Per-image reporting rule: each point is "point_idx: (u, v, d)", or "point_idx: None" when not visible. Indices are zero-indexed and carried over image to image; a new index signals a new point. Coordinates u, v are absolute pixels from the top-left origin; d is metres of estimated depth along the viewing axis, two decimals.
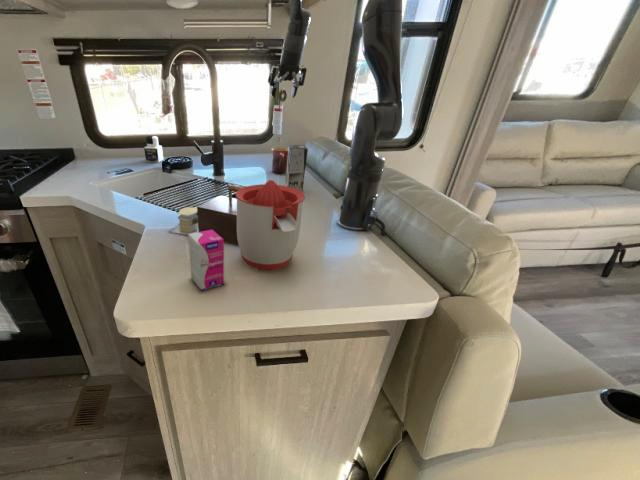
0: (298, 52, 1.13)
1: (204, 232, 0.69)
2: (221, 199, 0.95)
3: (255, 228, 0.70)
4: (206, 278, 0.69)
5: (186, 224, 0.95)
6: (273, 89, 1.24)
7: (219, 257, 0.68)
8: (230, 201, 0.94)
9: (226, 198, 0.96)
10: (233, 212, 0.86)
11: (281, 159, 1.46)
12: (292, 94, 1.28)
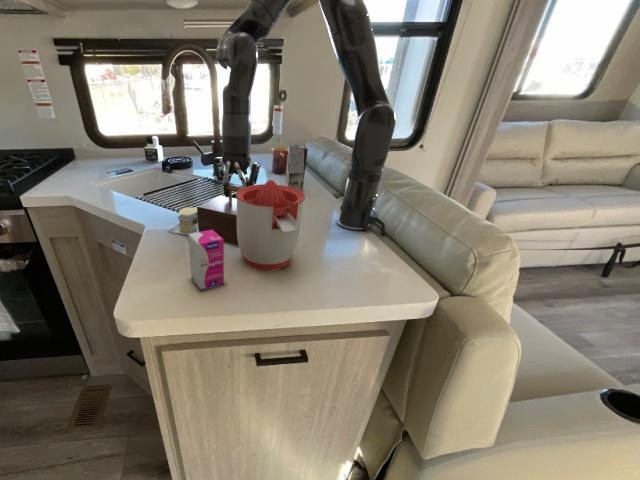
0: None
1: (204, 232, 0.69)
2: (221, 199, 0.95)
3: (255, 228, 0.70)
4: (206, 278, 0.69)
5: (186, 224, 0.95)
6: None
7: (219, 257, 0.68)
8: (230, 201, 0.94)
9: (226, 198, 0.96)
10: (233, 212, 0.86)
11: (281, 159, 1.46)
12: None
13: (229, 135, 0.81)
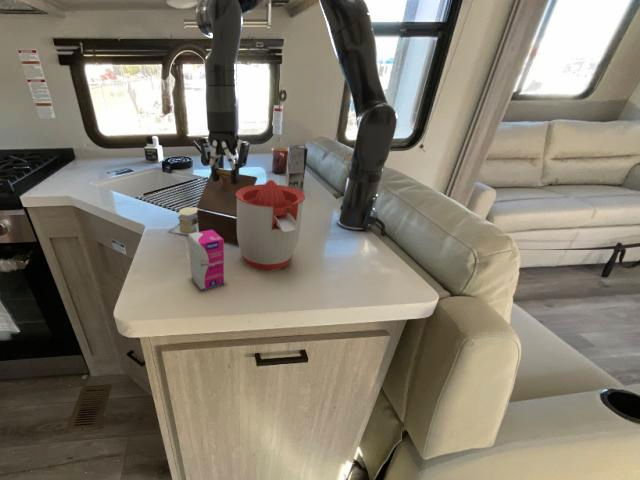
0: None
1: (204, 232, 0.69)
2: None
3: (255, 228, 0.70)
4: (206, 278, 0.69)
5: (186, 224, 0.95)
6: None
7: (219, 257, 0.68)
8: (225, 182, 0.88)
9: None
10: (232, 210, 0.85)
11: (281, 159, 1.46)
12: (217, 176, 0.86)
13: (214, 111, 0.73)
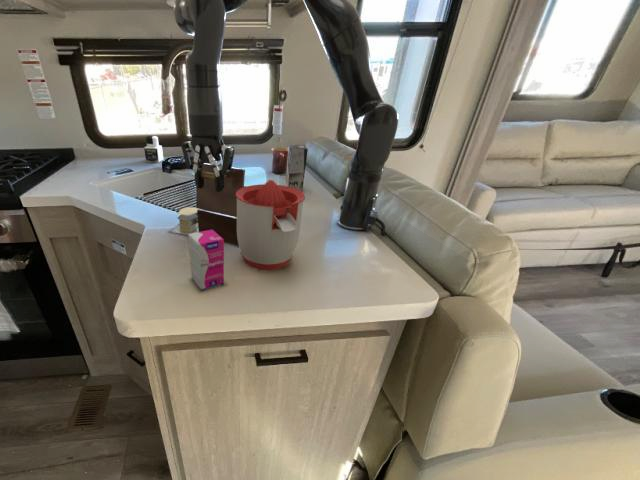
0: None
1: (204, 232, 0.69)
2: None
3: (255, 228, 0.70)
4: (206, 278, 0.69)
5: (186, 224, 0.95)
6: None
7: (219, 257, 0.68)
8: None
9: (206, 170, 0.83)
10: (230, 210, 0.84)
11: (281, 159, 1.46)
12: (202, 183, 0.81)
13: (195, 114, 0.68)
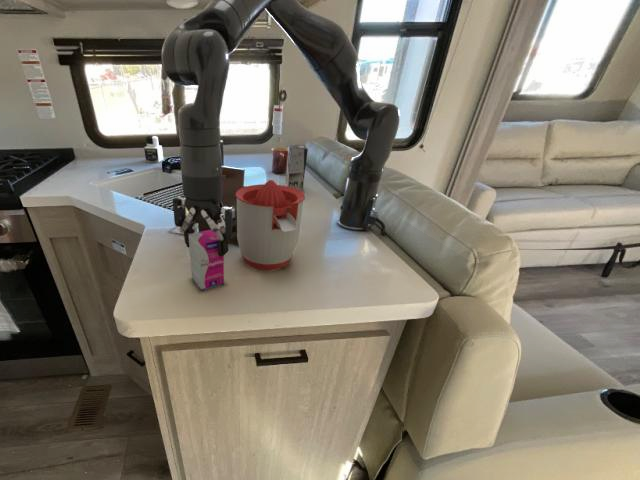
0: None
1: (204, 232, 0.69)
2: None
3: (255, 228, 0.70)
4: (206, 278, 0.69)
5: None
6: None
7: (219, 257, 0.68)
8: None
9: None
10: None
11: (281, 159, 1.46)
12: None
13: (190, 176, 0.57)
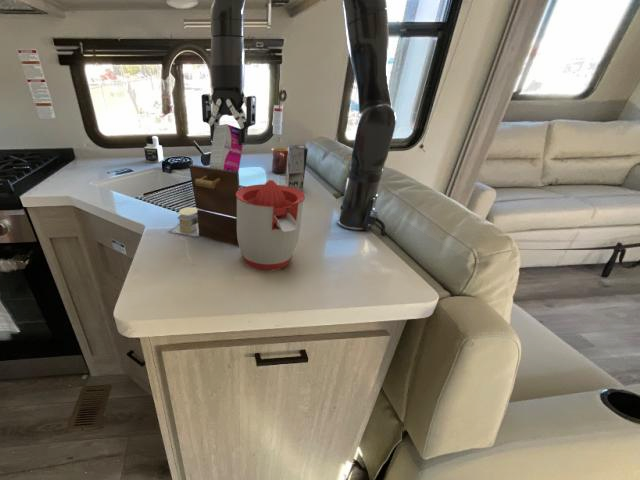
0: None
1: None
2: None
3: (255, 228, 0.70)
4: (226, 162, 0.80)
5: (186, 224, 0.95)
6: None
7: (239, 146, 0.80)
8: (209, 181, 0.82)
9: (200, 173, 0.81)
10: (230, 211, 0.84)
11: (281, 159, 1.46)
12: None
13: (219, 64, 0.70)
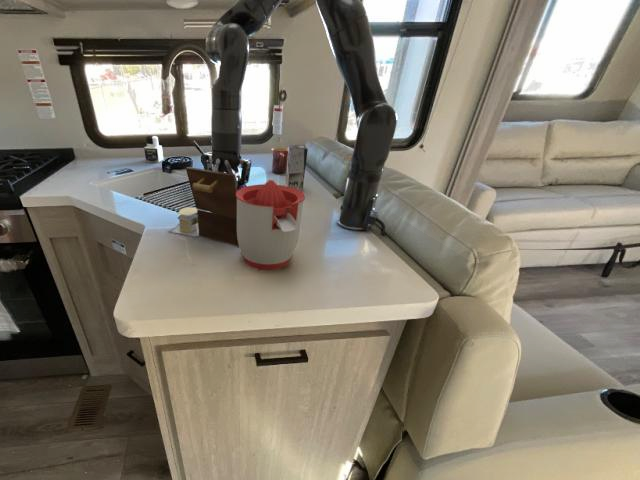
0: None
1: None
2: (197, 182, 0.82)
3: (255, 228, 0.70)
4: None
5: (186, 224, 0.95)
6: None
7: None
8: (206, 183, 0.81)
9: (197, 175, 0.81)
10: (229, 212, 0.84)
11: (281, 159, 1.46)
12: None
13: (218, 132, 0.77)
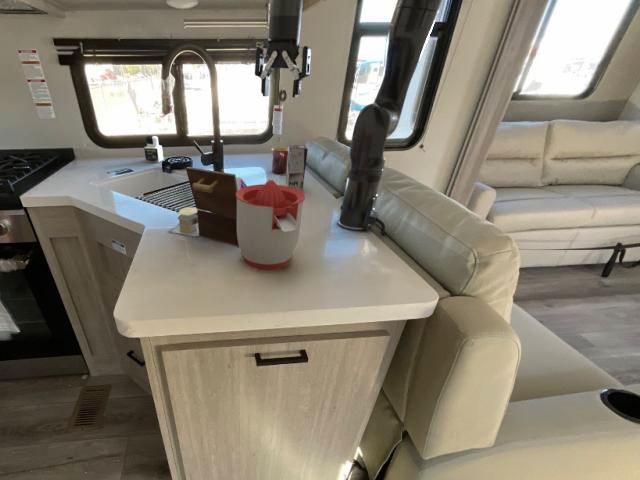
0: None
1: None
2: (197, 182, 0.82)
3: (255, 228, 0.70)
4: None
5: (186, 224, 0.95)
6: None
7: None
8: (206, 183, 0.81)
9: (197, 175, 0.81)
10: (229, 212, 0.84)
11: (281, 159, 1.46)
12: (267, 91, 0.87)
13: (279, 14, 0.73)
